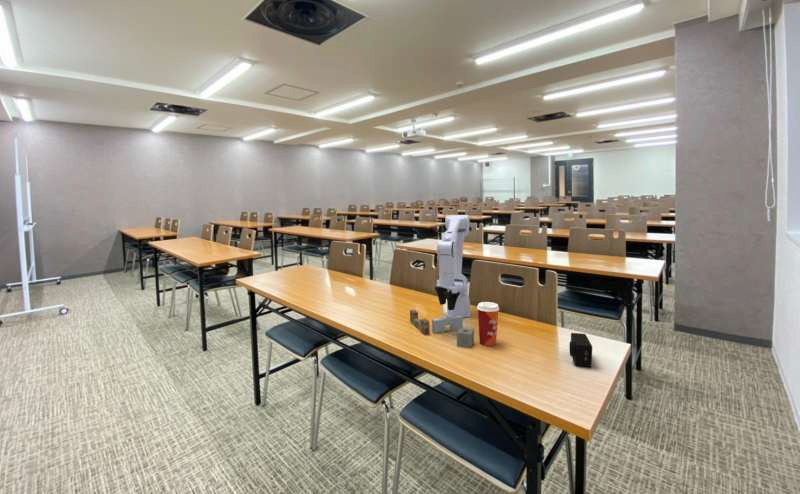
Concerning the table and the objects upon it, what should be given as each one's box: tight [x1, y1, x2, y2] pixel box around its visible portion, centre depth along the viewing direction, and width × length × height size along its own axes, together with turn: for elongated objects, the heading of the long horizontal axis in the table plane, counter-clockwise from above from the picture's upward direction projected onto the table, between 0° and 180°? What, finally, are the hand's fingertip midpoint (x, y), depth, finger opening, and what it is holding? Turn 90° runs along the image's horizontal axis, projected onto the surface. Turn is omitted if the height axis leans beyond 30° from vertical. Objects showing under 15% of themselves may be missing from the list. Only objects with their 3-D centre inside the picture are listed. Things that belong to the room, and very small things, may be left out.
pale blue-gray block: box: [431, 316, 464, 334], centre depth 141 cm, size 12×2×5 cm, turn 108°
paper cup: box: [476, 301, 500, 347], centre depth 128 cm, size 8×8×14 cm
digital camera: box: [568, 332, 593, 369], centre depth 114 cm, size 10×5×7 cm, turn 163°
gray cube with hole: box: [456, 327, 475, 349], centre depth 128 cm, size 5×5×5 cm
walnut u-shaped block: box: [409, 309, 430, 336], centre depth 145 cm, size 16×2×5 cm, turn 18°
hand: (446, 307), depth 140 cm, fingers open, 7 cm apart
